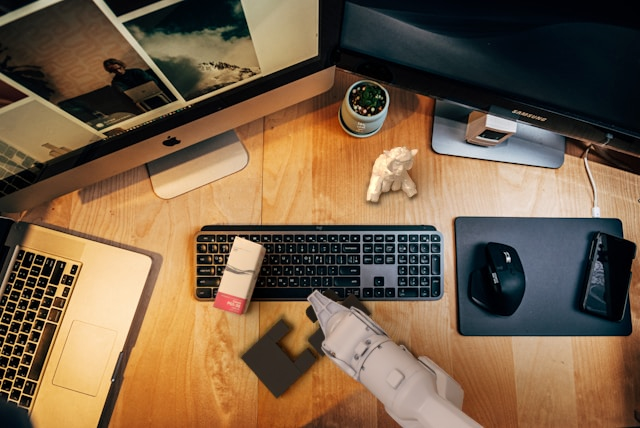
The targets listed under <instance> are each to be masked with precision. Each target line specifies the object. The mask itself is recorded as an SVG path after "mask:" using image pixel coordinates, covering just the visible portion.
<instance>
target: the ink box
mask: <svg viewBox="0 0 640 428" xmlns="http://www.w3.org/2000/svg"><path fill="white" fill-rule="evenodd" d="M233 240H234V241H233V244H232V246H231V250H230V253H229V256H228V259H227V262H226V265H225V268H224V271H223V275H222V278H221V280H220V283H219V286H218V289H217V293H216V295H215V299H214V302H213V305H212V307H213V308H214V309H218V310H221V311H224V312H228V313H231V314H234V315H236V316H237V315H238V316H242V315H243V314H245V313H247V311H248V308H249V306H250V302H251V299H252V296H253V293H254V290H255V287H256V283H257V280H258V277H259V274H260V271H261V267H262V265H263V261H264V259H265V255H266V251H267V249H266V247H264V246H263V244H259V243H256V242H253V241H252V240H249V239H245V238H242V237H239V236H235V238H234V239H233Z"/></svg>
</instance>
